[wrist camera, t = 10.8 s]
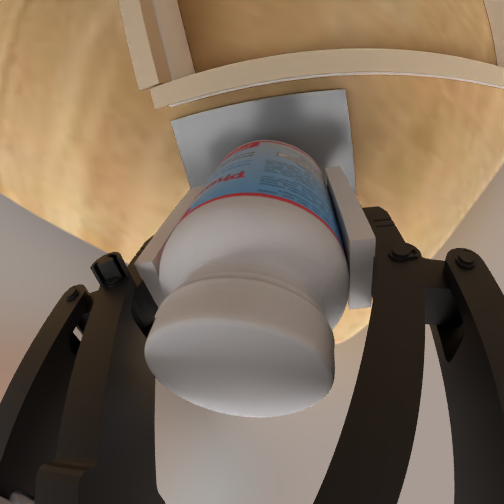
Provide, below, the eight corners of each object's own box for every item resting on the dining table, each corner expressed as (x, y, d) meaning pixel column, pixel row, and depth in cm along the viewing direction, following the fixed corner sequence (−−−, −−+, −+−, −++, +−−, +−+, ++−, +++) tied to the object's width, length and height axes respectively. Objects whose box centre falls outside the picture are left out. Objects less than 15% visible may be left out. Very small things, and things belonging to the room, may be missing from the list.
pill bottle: (236, 120, 13) (114, 232, 4) (344, 167, 14) (425, 346, 5) (202, 215, 17) (115, 384, 7) (295, 252, 17) (290, 437, 8)
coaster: (174, 119, 15) (170, 121, 15) (343, 89, 13) (344, 89, 13) (215, 254, 21) (214, 259, 20) (355, 239, 18) (357, 244, 18)
